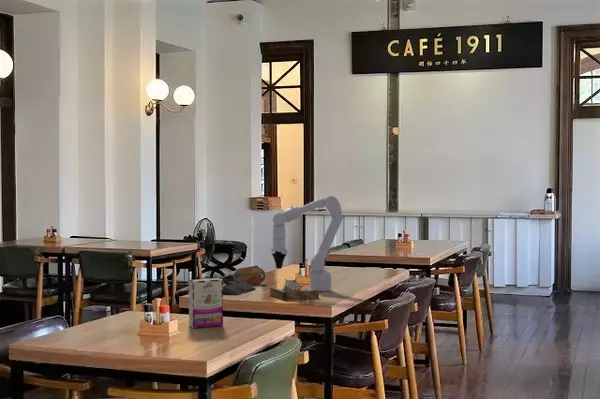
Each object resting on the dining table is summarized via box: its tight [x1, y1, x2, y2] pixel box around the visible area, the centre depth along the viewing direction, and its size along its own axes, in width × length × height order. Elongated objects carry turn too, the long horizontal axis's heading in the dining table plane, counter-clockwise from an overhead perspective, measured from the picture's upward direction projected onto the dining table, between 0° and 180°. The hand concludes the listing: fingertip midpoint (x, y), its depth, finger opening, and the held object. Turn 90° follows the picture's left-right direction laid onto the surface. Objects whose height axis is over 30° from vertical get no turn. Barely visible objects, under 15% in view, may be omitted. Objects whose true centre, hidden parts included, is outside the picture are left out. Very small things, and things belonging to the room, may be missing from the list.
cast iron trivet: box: [223, 279, 257, 296], centre depth 352 cm, size 15×22×5 cm
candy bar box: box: [188, 277, 224, 329], centre depth 269 cm, size 11×5×16 cm, turn 117°
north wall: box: [282, 289, 320, 301], centre depth 331 cm, size 16×2×4 cm, turn 115°
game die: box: [281, 278, 304, 292], centre depth 336 cm, size 9×8×10 cm
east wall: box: [269, 287, 288, 301], centre depth 334 cm, size 2×15×4 cm, turn 25°
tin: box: [233, 266, 266, 286], centre depth 375 cm, size 15×3×8 cm, turn 102°
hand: (278, 268), depth 358 cm, fingers closed
